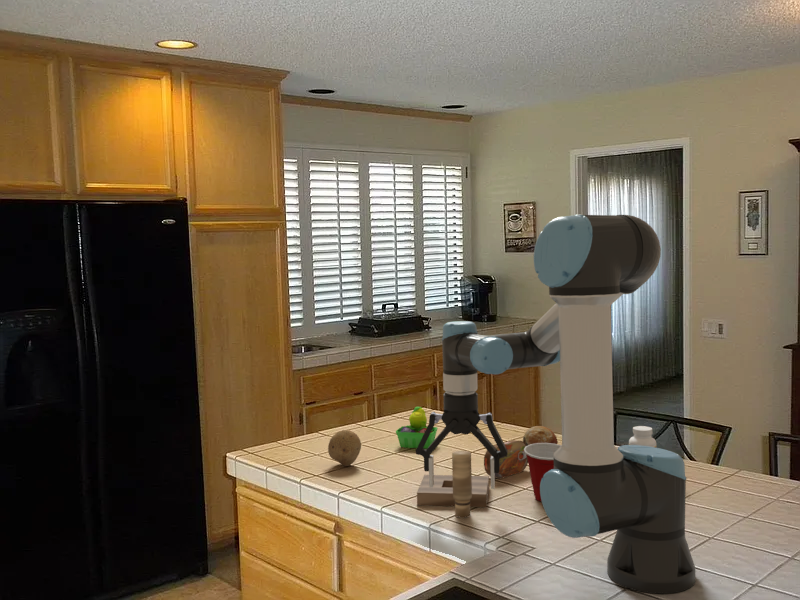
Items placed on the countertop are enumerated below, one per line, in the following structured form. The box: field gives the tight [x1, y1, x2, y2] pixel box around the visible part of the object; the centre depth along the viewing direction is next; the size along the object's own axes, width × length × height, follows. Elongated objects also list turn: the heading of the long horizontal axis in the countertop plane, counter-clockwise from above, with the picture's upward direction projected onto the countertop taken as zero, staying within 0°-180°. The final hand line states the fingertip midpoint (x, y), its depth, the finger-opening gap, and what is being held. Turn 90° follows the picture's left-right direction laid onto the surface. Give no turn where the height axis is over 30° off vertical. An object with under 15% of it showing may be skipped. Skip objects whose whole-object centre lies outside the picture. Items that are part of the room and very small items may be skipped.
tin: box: [483, 439, 529, 480], centre depth 205 cm, size 15×3×8 cm, turn 129°
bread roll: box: [522, 425, 558, 446], centre depth 231 cm, size 10×10×8 cm
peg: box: [451, 450, 473, 519], centre depth 175 cm, size 4×4×14 cm
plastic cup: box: [524, 443, 562, 503], centre depth 185 cm, size 11×11×12 cm
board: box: [416, 474, 490, 508], centre depth 188 cm, size 14×16×3 cm
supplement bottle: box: [628, 425, 657, 448], centre depth 198 cm, size 7×7×13 cm
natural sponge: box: [327, 429, 362, 467], centre depth 216 cm, size 9×9×10 cm
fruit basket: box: [395, 406, 438, 449], centre depth 236 cm, size 11×9×11 cm
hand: (462, 486), depth 175 cm, fingers open, 13 cm apart
